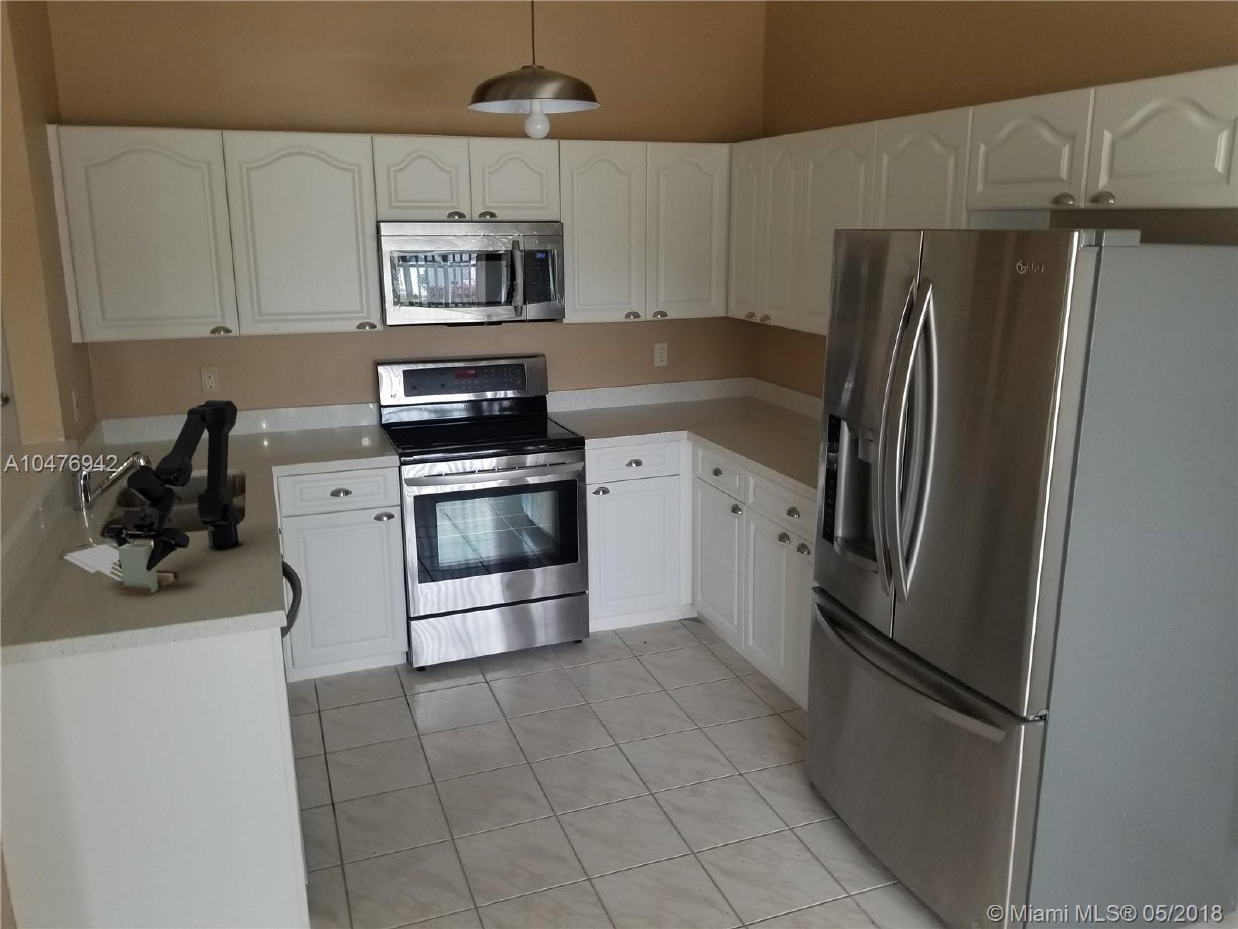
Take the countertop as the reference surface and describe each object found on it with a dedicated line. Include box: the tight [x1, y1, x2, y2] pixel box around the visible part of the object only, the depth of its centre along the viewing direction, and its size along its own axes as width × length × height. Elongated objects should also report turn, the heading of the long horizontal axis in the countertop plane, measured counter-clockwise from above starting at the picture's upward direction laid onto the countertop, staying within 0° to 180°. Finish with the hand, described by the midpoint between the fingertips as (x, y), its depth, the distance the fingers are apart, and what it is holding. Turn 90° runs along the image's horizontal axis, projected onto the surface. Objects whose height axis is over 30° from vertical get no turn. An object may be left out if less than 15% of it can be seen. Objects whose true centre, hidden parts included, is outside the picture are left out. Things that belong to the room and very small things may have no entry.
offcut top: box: [156, 573, 174, 582], centre depth 222 cm, size 4×6×1 cm, turn 80°
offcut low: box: [164, 577, 174, 585], centre depth 222 cm, size 4×6×1 cm, turn 80°
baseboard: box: [58, 540, 123, 582], centre depth 235 cm, size 31×3×12 cm
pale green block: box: [117, 543, 159, 593], centre depth 215 cm, size 3×6×11 cm, turn 81°
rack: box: [117, 568, 181, 597], centre depth 220 cm, size 12×8×3 cm, turn 170°
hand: (134, 569), depth 214 cm, fingers closed on pale green block, 6 cm apart
